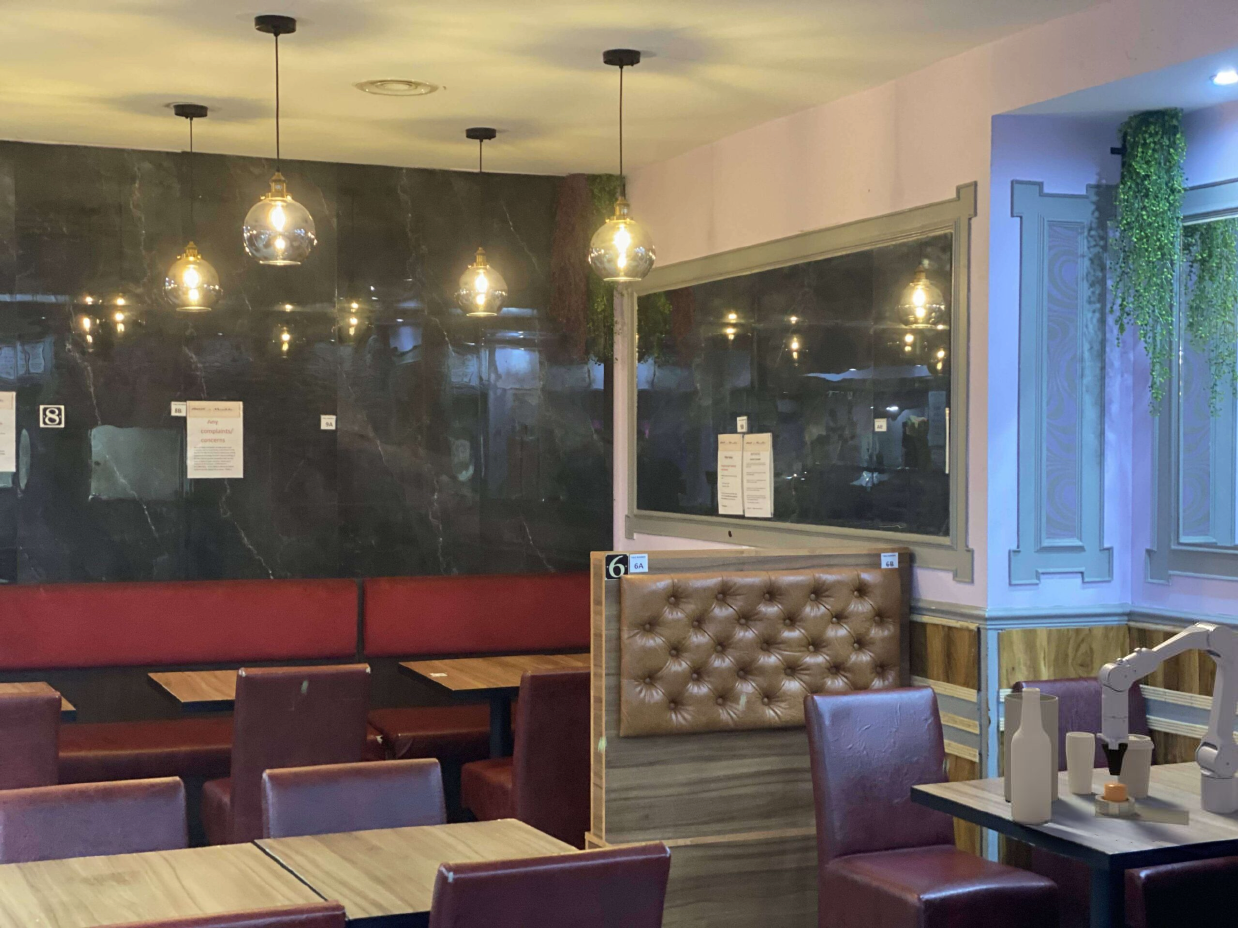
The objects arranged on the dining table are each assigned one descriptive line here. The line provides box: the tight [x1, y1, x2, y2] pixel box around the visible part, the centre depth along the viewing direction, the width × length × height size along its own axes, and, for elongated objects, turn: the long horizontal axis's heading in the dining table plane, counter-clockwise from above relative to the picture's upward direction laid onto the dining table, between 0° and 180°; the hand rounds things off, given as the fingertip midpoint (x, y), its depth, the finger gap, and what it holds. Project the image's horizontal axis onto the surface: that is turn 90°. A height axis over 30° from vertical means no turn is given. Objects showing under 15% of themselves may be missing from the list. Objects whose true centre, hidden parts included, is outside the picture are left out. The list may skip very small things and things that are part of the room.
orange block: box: [1103, 782, 1127, 802], centre depth 331 cm, size 5×5×6 cm
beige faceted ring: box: [1094, 793, 1136, 816], centre depth 331 cm, size 9×9×3 cm
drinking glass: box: [1065, 731, 1096, 795], centre depth 351 cm, size 7×7×15 cm
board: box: [1093, 805, 1190, 826], centre depth 329 cm, size 20×14×1 cm
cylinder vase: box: [1003, 692, 1059, 803], centre depth 346 cm, size 12×12×25 cm
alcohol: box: [1010, 687, 1052, 826], centre depth 327 cm, size 9×9×30 cm
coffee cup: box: [1116, 733, 1155, 799], centre depth 348 cm, size 10×10×15 cm
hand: (1114, 774), depth 331 cm, fingers closed
